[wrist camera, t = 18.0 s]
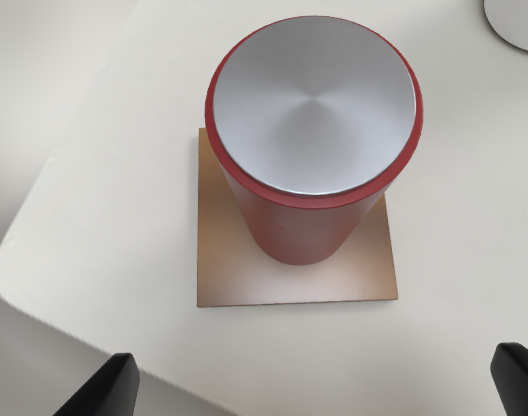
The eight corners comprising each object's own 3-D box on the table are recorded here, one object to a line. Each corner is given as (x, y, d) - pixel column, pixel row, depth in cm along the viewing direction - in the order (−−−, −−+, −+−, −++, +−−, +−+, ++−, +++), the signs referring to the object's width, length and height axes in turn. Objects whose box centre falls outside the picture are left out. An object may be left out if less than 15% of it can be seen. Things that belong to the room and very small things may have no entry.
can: (361, 254, 22) (460, 179, 10) (258, 274, 22) (220, 228, 10) (336, 159, 24) (391, -11, 11) (241, 178, 24) (188, 30, 11)
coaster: (394, 299, 22) (398, 299, 22) (199, 307, 23) (196, 307, 22) (371, 122, 26) (374, 116, 25) (201, 133, 26) (198, 127, 25)
